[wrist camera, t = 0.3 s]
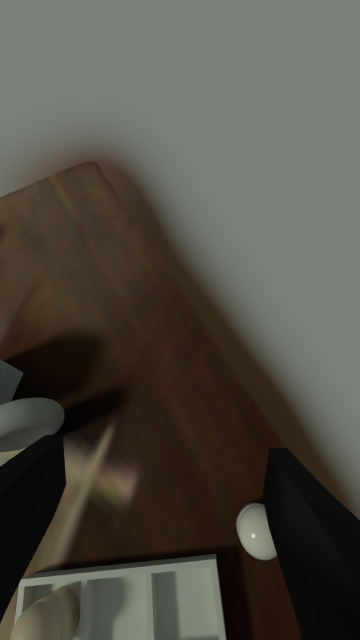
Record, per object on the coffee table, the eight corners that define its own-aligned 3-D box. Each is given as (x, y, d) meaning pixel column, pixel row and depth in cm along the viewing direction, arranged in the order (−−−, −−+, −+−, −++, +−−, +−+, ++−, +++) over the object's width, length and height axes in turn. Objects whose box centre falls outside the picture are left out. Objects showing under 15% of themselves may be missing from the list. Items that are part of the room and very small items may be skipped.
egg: (281, 548, 32) (295, 562, 26) (240, 552, 32) (244, 567, 26) (271, 500, 34) (281, 503, 28) (232, 504, 34) (235, 508, 29)
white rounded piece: (74, 404, 42) (36, 383, 33) (80, 428, 40) (41, 412, 32) (4, 434, 41) (-53, 421, 32) (7, 460, 39) (-53, 454, 31)
